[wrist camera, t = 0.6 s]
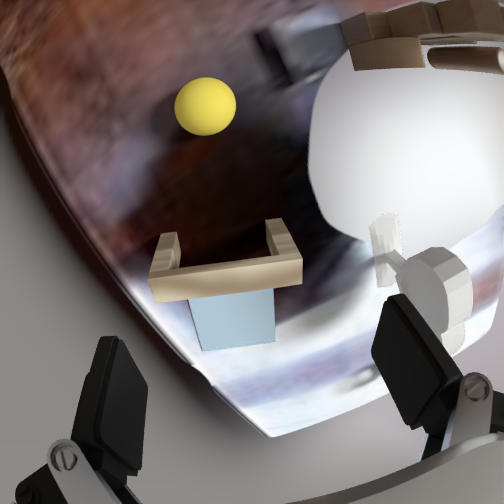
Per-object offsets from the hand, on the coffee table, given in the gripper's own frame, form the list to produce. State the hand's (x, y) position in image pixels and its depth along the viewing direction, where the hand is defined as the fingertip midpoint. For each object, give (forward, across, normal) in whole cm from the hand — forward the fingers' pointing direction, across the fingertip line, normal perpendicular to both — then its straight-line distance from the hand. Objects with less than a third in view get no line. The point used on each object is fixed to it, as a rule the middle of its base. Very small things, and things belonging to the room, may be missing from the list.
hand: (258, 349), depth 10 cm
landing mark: (+26, +1, +23) cm, 35 cm away
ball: (+23, +1, -7) cm, 24 cm away
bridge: (+26, +1, +9) cm, 28 cm away
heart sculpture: (+26, -23, +15) cm, 38 cm away
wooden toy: (+27, -23, -15) cm, 38 cm away
